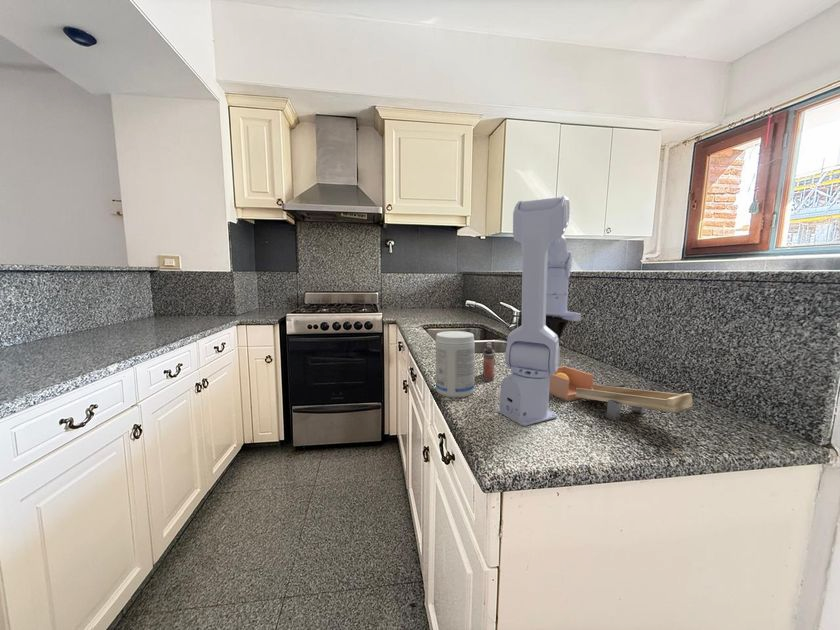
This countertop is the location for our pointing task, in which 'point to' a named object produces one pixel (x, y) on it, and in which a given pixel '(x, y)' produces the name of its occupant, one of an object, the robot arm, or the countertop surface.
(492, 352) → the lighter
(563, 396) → the tray
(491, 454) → the countertop surface
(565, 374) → the ball
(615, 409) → the pivot stand
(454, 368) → the supplement tub
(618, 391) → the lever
